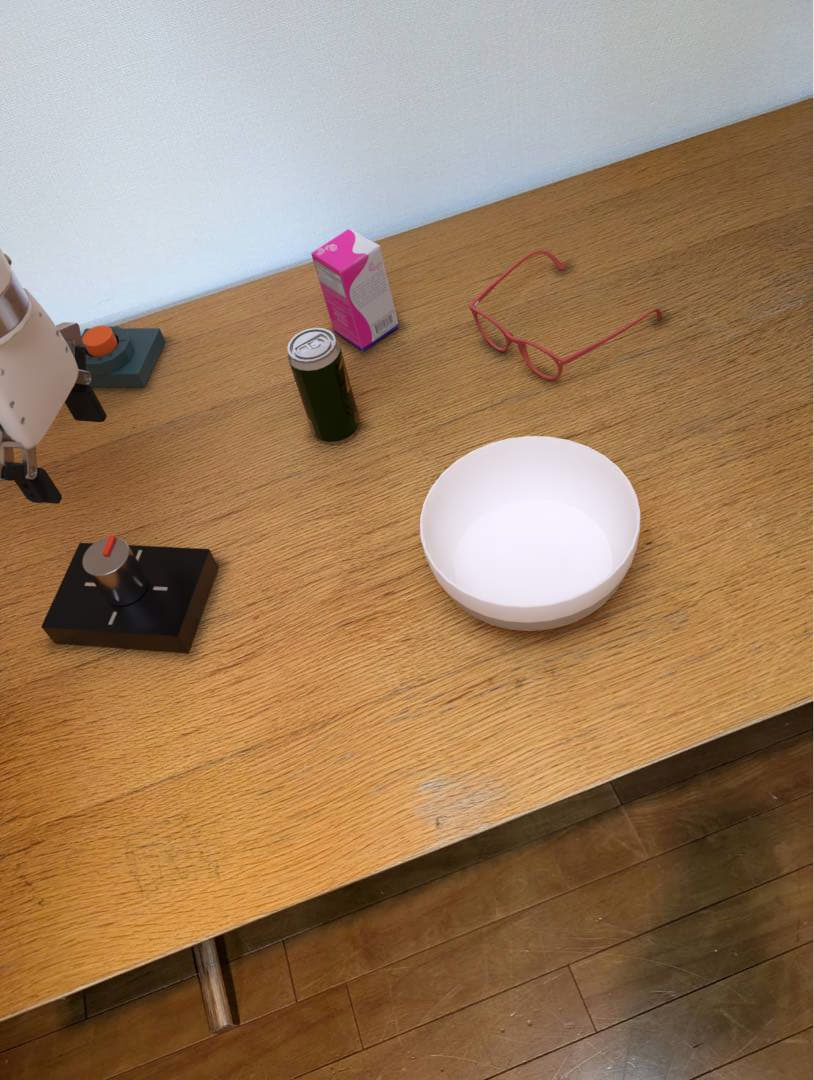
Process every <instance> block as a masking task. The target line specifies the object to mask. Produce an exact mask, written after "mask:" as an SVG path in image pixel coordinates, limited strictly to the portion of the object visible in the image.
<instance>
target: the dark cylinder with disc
mask: <svg viewBox="0 0 814 1080" xmlns="http://www.w3.org/2000/svg"><path fill="white" fill-rule="evenodd" d="M93 543H94V544H93V545H91V546H90V547H89V548H88V550H87V551H86V552H85V554H84V557H83V567H84V569H85V571H86V572H87V574H88V575H89V576H90V578H91V579H92V581H93V582H94V584H95V585H96V587H97V588H98V589H99V591H100V592H101V594H102V595H103V597H104V598H105V599H106V601H107V602H108V603H110V604H112V605H116V606H124V605H128V604H131V603H133V602H135V601H136V600H138V599H139V598H140V597H141V596H142V595H143V594H144V593H145V591H146V589H147V586H148V577H147V575H146V573H145V572H144V570H143V568H142V567H141V565H140V564H139V562H138V560H137V559H136V557H135V555H134V554H133V552H132V551H131V549H130V547H129V546H128V545H129V544H128V543H127V542H126V540H124V539H122V538H120V537H117V535H114V534H110V535H108V536H107V537H104V538H101V539H99V540H97V541H96V542H93Z"/></svg>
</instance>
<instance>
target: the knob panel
mask: <svg viewBox="0 0 814 1080" xmlns="http://www.w3.org/2000/svg"><path fill="white" fill-rule="evenodd" d="M94 543H95V542H79V543H78V545H77V548H76V550H75V551H74V554H73V556H72V559H71V561H70V563H69V565H68V567H67V569H66V571H65V573H64V576H63V578H62V580H61V583H60V584H59V587H58V589H57V591H56V593H55V595H54V598H53V600H52V601H51V604H50V607H49V609H48V611H47V613H46V615H45V617H44V620H43V621H42V624H41V626H40V627H41V629H42V630H43V631H44V632H45V634H46V635H47V636H48V637H49V639H50V640H51V641H52V642H53V643H54V644H57V645H72V646H73V645H74V646H85V647H96V648H97V647H98V648H109V649H110V648H111V649H122V650H123V649H125V650H137V651H148V652H149V651H151V652H162V653H163V652H164V653H175V654H176V653H177V654H189V653H190V650H191V647H192V644H193V641H194V638H195V636H196V633H197V630H198V627H199V625H200V621H201V619H202V616H203V613H204V610H205V607H206V605H207V601H208V599H209V595H210V593H211V590H212V587H213V585H214V581H215V578H216V576H217V573H218V570H219V564H218V563H217V561H216V559H215V557H214V555H213V553H212V551H211V549H210V548H197V547H196V548H195V547H177V546H176V547H175V546H157V545H156V546H155V545H138V544H137V545H135V544H128V546H129V547H130V549H131V551H132V552H133V554H134V555H135V557H136V559H137V560H138V562H139V564H140V565H141V567H142V568H143V570H144V572H145V573H146V575H147V577H148V586H147V589H146V591H145V593H144V594H143V595H142V596H141V597H140V598H139V599H138V600H136V601H135V602H133V603H131V604H128V605H124V606H116V605H112V604H110V603H108V602H107V601H106V599H105V598H104V597H103V595H102V594H101V592H100V591H99V589H98V588H97V587H96V585H95V584H94V582H93V581H92V579H91V578H90V576H89V575H88V574H87V572H86V571H85V569H84V567H83V557H84V554H85V552H86V551H87V550H88V548H89V547H90V546H91V545H93V544H94Z"/></svg>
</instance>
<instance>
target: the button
mask: <svg viewBox="0 0 814 1080" xmlns="http://www.w3.org/2000/svg"><path fill="white" fill-rule="evenodd" d="M88 329H89V330H88V331H87V332H86V333H85V334H84V335H83V338H82V341H83V344H84V345H85V347H86V349H87V351H88V353H89V354H90V355H91V356H93V357H101V356H104V355H107V354H109V353H111V352H112V351H113V350H114V349H115V348H116V347H117V343H118V342H117V339H116V337H115V335H114V333H113V331H112V329H111V328H110V327H108V325H105V324H104V325H101V324H100V325H96V326H93V327H91V328H88Z"/></svg>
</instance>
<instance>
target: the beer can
mask: <svg viewBox="0 0 814 1080" xmlns="http://www.w3.org/2000/svg"><path fill="white" fill-rule="evenodd" d="M286 349H287V360H288V363H289V367H290V369H291V373H292V375H293V378H294V381H295V384H296V388H297V391H298V394H299V396H300V399H301V402H302V406H303V408H304V411H305V414H306V418H307V421H308V423H309V426H310V429H311V433H312V435H313V436H314V437H315V438H316V439H317V440H318V441H320V442H321V443H323V444H325V445H332V446H336V445H342V444H343V443H344V444H345V443H346V442H348V441H350V440H351V439H353V438H354V437H355V436H356V434H357V432H358V431H359V428H360V425H361V424H360V423H361V418H360V414H359V411H358V410H359V409H358V407H357V402H356V398H355V396H354V391H353V389H352V384H351V381H350V378H349V374H348V369H347V366H346V362H345V359H344V355H343V352H342V348H341V345H340V343H339V341H338V340H337V339H336V336H335V334H334V333H333V332H332V331H331V330H330V329H326V328H322V327H313V328H311V327H310V328H306V329H303V330H301V331H300V332H298V333H296V334H295V335H293V337H292V338H291V339H290V340H289V342H288V344H287V348H286Z"/></svg>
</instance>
